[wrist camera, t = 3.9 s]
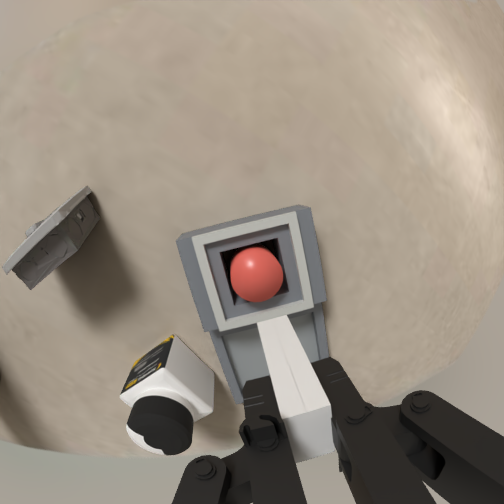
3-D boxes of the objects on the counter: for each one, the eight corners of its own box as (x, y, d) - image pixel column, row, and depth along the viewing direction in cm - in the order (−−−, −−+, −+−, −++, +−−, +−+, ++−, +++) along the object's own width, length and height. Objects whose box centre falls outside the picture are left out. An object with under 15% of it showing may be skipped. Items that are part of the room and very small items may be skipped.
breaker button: (236, 292, 28) (238, 307, 25) (225, 249, 27) (224, 259, 23) (279, 280, 28) (287, 294, 25) (270, 238, 27) (277, 246, 24)
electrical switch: (90, 183, 26) (46, 193, 17) (114, 223, 28) (78, 249, 19) (37, 229, 26) (-10, 254, 18) (59, 266, 28) (18, 300, 19)
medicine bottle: (174, 332, 30) (153, 403, 19) (215, 372, 32) (214, 448, 20) (134, 361, 31) (104, 429, 19) (174, 397, 32) (161, 469, 21)
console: (235, 395, 33) (237, 419, 29) (182, 233, 28) (174, 242, 24) (327, 370, 33) (339, 392, 29) (299, 204, 28) (312, 208, 24)
